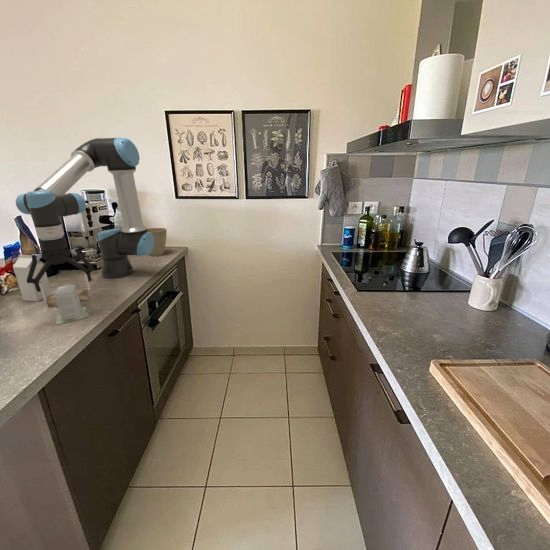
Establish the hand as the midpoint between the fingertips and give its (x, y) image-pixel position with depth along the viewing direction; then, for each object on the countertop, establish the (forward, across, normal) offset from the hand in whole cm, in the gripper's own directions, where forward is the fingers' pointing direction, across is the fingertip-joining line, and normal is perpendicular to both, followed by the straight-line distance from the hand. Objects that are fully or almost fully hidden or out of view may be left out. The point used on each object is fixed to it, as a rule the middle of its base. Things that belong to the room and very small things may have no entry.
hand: (68, 294), depth 110 cm
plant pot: (+11, +52, +66) cm, 85 cm away
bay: (+9, 0, +4) cm, 10 cm away
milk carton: (+9, -10, +28) cm, 32 cm away
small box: (+8, 0, 0) cm, 9 cm away
